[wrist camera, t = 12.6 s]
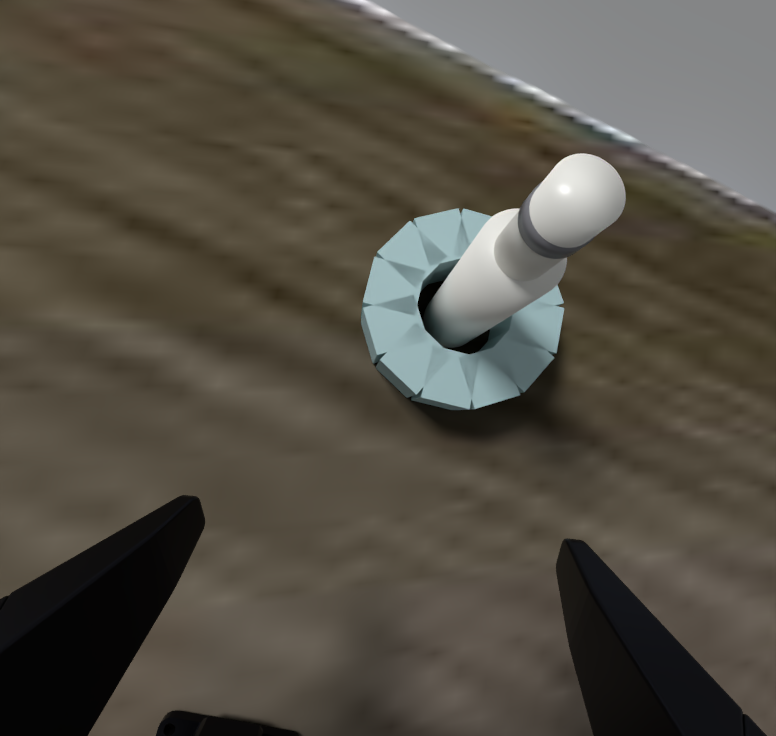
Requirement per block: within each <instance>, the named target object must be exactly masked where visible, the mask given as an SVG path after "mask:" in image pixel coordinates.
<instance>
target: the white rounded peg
mask: <svg viewBox="0 0 776 736" xmlns="http://www.w3.org/2000/svg"><path fill="white" fill-rule="evenodd" d="M625 199H626V196H625V188H624V185H623V182H622V180H621V178H620V176H619V174H618V173H617V171H616V170H615V169H614V168H613V167H612V166H611V165H610V164H609V163H608V162H606V161H605V160H603V159H601V158H599V157H597V156H594V155H590V154H574V155H570V156H568V157H566V158H564V159H563V160H561V161H560V162H559V163H558V164H557V165H556V166H555V167H554V169H553V170H552V171H551V172H550V173H549V175H548V176H547V177H546V178H545V180H544V181H543V182H542V183H540V184H539V185H538V186H536V188H535V189H534V190H533V191H532V192H531V194H530V195H529V196H528V197H527V199H526V200H525V201H524V202H523V204H522V205H521V207H520V209H509V210H505V211H502V212H500V213H497V214H496V215H494V216H493V217H491V218H490V219H489V220H488V221H487V222H486V223H485V224H484V226H483V227H482V229H481V230H480V232H479V233H478V234H477V236H476V237H475V239H474V240H473V241H472V243H471V244H470V246H469V247H468V249H467V250H466V251H465V253H464V254H463V256H462V257H461V258H460V260H459V261H458V263H457V264H456V266H455V267H454V268H453V270H452V271H451V273H450V274H449V275H448V277H447V278H446V280H445V281H444V283H443V284H442V285H441V287H440V288H439V290H438V291H437V292H436V294H435V295H434V297H433V298H432V300H431V301H430V302H429V304H428V305H427V307H426V309H425V312H424V316H423V323H424V328H425V331H427V332H428V333H429V334H430V335H431V336H432V337H433V338H434V339H435V340H436V341H437V342H438V343H439V344H440V345H441V346H443V347H447V348H456V347H460V346H463V345H465V344H466V343H468V342H470V341H471V340H473V339H474V338H476V337H478V336H479V335H481V334H482V333H484V332H486V331H487V330H489V329H490V328H492V327H494V326H495V325H497V324H498V323H500V322H502V321H503V320H505V319H506V318H508V317H510V316H511V315H513V314H514V313H516V312H518V311H519V310H521V309H522V308H524V307H526V306H527V305H529V304H530V303H532V302H534V301H535V300H537V299H538V298H540V297H542V296H543V295H545V294H546V293H548V292H549V291H551V290H552V289H553V288H554V287H556V286H557V284H558V283H559V282H560V280H561V279H562V277H563V275H564V272H565V269H566V264H567V257H569V256H571V255H573V254H574V253H576V252H577V251H578V250H580V249H581V248H583V247H584V246H585V245H587V244H588V243H589V242H590V241H591V240H593V238H594V237H595V236H596V235H597V234H599V233H600V232H601V231H603V230H604V229H605V228H607V227H608V226H609V225H611V224H612V223H614V222H615V221H616V220H617V219H618V217H619V216H620V215H621V213H622V211H623V209H624V205H625Z"/></svg>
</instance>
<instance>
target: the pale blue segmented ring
mask: <svg viewBox="0 0 776 736" xmlns="http://www.w3.org/2000/svg"><path fill="white" fill-rule="evenodd" d="M490 218H491V216H488V215H485V214H481V213H478V212H474V211H471V210H467V209H463V210H462V212H461V214H460V212H459V209H453V210H449V211H445V212H440V213H436V214H431V215H427V216H423V217H418V218H414V221H413V223H412V222H411V221H409V222H408V223H407V224H406V225H405V226H404V227H403V228H402V229H401V230H400V231H399V232H398V233H397V234H396V235H395V236H394V237H392V238H391V239H390V240H389V241H388V242H387V243H386V244H385V245H384V246H383V247H382V248H381V249H380V250H379V251H378V252H377V256H376V257H374V261H373V265H372V268H371V272H370V276H369V280H368V284H367V288H366V292H365V296H364V299H363V305H362V313H361V325H362V328H363V332H364V335H365V338H366V342H367V345H368V349H369V352H370V355H371V359H372V362H373V364H374V363H377V362H378V364H377V366H376V369H377V370H378V371H379V372H380V373H381V374H382V375H383V376H384V377H386V378H387V379H388V380H389V381H390V382H391V383H392V384H393V385H394V386H395V387H396V388H397V389H398V390H399V391H400V392H401V393H402V394H403V395H404V396H405V397H406V398H408V397H411V396H412V398H411V400H412V401H416V402H420V403H425V404H429V405H433V406H437V407H441V408H445V409H449V410H469V409H477V408H480V407H483V406H487V405H490V404H493V403H496V402H500V401H503V400H506V399H509V398H513V397H516V396H519V395H520V393H523V392H525V391H526V390H527V389H528V388H529V387H530V385H531V384H532V383H533V382H534V381H535V380H536V378H537V377H538V376H539V375H540V374H541V373H542V371H543V370H544V369H545V368H546V367H547V366H548V365H549V363H550V362H551V361H552V360H553V359H554V357H553V356H552V354H555V353H557V348H558V342H559V336H560V330H561V324H562V318H563V312H564V308H562V307H558V306H559V305H561V304H563V303H564V302H563V300H562V297H561V294H560V291H559V288H558V285H557V286H556V287H554V288H553V289H552V290H551V291H549V292H548V293H546V294H545V295H543V296H542V297H540V298H538V299H537V300H535V301H534V302H532V303H530V304H529V305H527V306H526V307H524V308H522V309H521V310H519V311H518V312H516V313H514V314H513V315H511V316H510V317H508V318H506V319H505V320H503V321H502V322H500V323H498V324H497V325H495V326H494V327H492V328H490V332H489V337H488V342H487V343H486V344H485V345H484V346H483V347H482V348H481V349H480V350H479V351H478V352H476V353H473V354H465V353H461V352H457V351H453V350H449V349H446V348H443V347H442V346H441V345H440V344H439V343H438V342H437V341H436V340H435V339H434V338H433V337H432V336H431V335H430V334H429V333H428V332H427V331H425V329H424V326H423V322H422V319H421V316H420V313H419V310H418V306H417V303H418V299H419V295H420V292H421V291H422V290H423V289H424V288H425V287H426V286H427V285H428V284H431V283H435V282H439V281H443V280H446V278H447V277H448V275H449V274H450V273H451V271H452V270H453V268H454V267H455V266H456V264H457V263H458V261H459V260H460V258H461V257H462V256H463V254H464V253H465V251H466V250H467V249H468V247H469V246H470V244H471V243H472V241H473V240H474V239H475V237H476V236H477V234H478V233H479V232H480V230H481V229H482V227H483V226H484V224H485V223H486V222H487V221H488V220H489V219H490Z"/></svg>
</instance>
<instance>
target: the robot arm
mask: <svg viewBox="0 0 776 736" xmlns="http://www.w3.org/2000/svg"><path fill="white" fill-rule="evenodd" d="M204 526H205V517H204V513H203V510H202V506H201V502H200V500H199V498H198V497H196V496H188V495H182V496H179V497H177V498H176V499H174V500H172V501H170V502H169V503H167V504H165V505H163V506H162V507H160V508H158V509H156V510H155V511H153V512H151V513H149V514H148V515H146V516H144V517H143V518H141V519H139V520H137V521H136V522H134V523H132V524H130V525H129V526H127V527H125V528H123V529H122V530H120V531H118V532H116V533H115V534H113V535H111V536H109V537H108V538H106V539H104V540H103V541H101V542H99V543H97V544H96V545H94V546H92V547H90V548H89V549H87V550H85V551H83V552H82V553H80V554H78V555H76V556H75V557H73V558H71V559H69V560H68V561H66V562H64V563H62V564H61V565H59V566H57V567H56V568H54V569H52V570H50V571H49V572H47V573H45V574H43V575H42V576H40V577H38V578H36V579H35V580H33V581H31V582H29V583H28V584H26V585H24V586H22V587H21V588H19V589H17V590H15V591H14V592H12V593H11V594H10V595H9V596H5V597H3V598H1V599H0V736H88V734H89V732H90V731H91V729H92V727H93V726H94V724H95V722H96V721H97V719H98V717H99V716H100V714H101V712H102V710H103V709H104V707H105V705H106V704H107V702H108V700H109V699H110V697H111V695H112V694H113V692H114V690H115V689H116V687H117V685H118V684H119V682H120V680H121V679H122V677H123V675H124V673H125V672H126V670H127V668H128V667H129V665H130V663H131V662H132V660H133V658H134V657H135V655H136V653H137V652H138V650H139V648H140V647H141V645H142V643H143V642H144V640H145V638H146V636H147V635H148V633H149V631H150V630H151V628H152V626H153V625H154V623H155V621H156V620H157V618H158V616H159V615H160V613H161V611H162V610H163V608H164V606H165V605H166V603H167V601H168V599H169V598H170V596H171V594H172V592H173V591H174V589H175V587H176V585H177V583H178V581H179V579H180V577H181V575H182V573H183V571H184V569H185V567H186V565H187V563H188V561H189V558H190V556H191V554H192V552H193V550H194V548H195V546H196V544H197V542H198V540H199V538H200V536H201V533H202V531H203V529H204ZM556 573H557V579H558V585H559V591H560V597H561V603H562V608H563V614H564V620H565V626H566V632H567V637H568V642H569V647H570V651H571V655H572V659H573V663H574V667H575V670H576V674H577V677H578V681H579V685H580V688H581V692H582V695H583V699H584V703H585V706H586V710H587V714H588V717H589V721H590V724H591V728H592V732H593V735H594V736H767V735H766V734H765V733H764V732H763V731H762V730H761V729H760V728H759V727H758V726H757V725H756V724H755V723H754V722H753V720H752V719H751V718H750V717H749V716H748V715H746V714H743V712H742V709H741V708H740V707H739V706H738V705H737V704H736V703H735V702H734V700H733V699H732V698H731V697H730V696H729V695H728V694H727V693H726V692H725V691H724V690H723V689H722V688H721V687H720V686H719V684H718V683H717V682H716V681H715V680H714V679H713V678H712V677H711V676H710V675H709V674H708V673H707V672H706V671H705V670H704V668H703V667H702V666H701V665H700V664H699V663H698V662H697V661H696V660H695V659H694V658H693V657H692V656H691V655H690V653H689V652H688V651H687V650H686V649H685V648H684V647H683V646H682V645H681V644H680V643H679V642H678V641H677V640H676V639H675V637H674V636H673V635H672V634H671V633H670V632H669V631H668V630H667V629H666V628H665V627H664V626H663V625H662V624H661V623H660V621H659V620H658V619H657V618H656V617H655V616H654V615H653V614H652V613H651V612H650V611H649V610H648V609H647V608H646V607H645V605H644V604H643V603H642V602H641V601H640V600H639V599H638V598H637V597H636V596H635V595H634V594H633V593H632V592H631V591H630V589H629V588H628V587H627V586H626V585H625V584H624V583H623V582H622V581H621V580H620V579H619V578H618V577H617V576H616V575H615V573H614V572H613V571H612V570H611V569H610V568H609V567H608V566H607V565H606V564H605V563H604V562H603V561H602V560H601V559H600V557H599V556H598V555H597V554H596V553H595V552H594V551H593V550H592V549H591V548H590V547H589V546H588V545H587V544H586V543H585V542H584V541H582V540H576V539H564V540H563V542H562V545H561V548H560V552H559V555H558V559H557V563H556ZM170 723H171V724H173V725H174V726H175V728H174V729H171V728H169V726H168V724H170ZM156 736H299V735H298V734H297V733H295V732H293V731H288V730H282V729H277V728H271V727H265V726H260V725H258V724H252V723H246V722H241V721H235V720H230V719H224V718H218V717H213V716H204V715H198V714H192V713H187V712H181V711H171V712H169V713H167V714H166V715H165V717H164V718H163V720H162V721H161V723H160V725H159V727H158V730H157V734H156Z"/></svg>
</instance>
